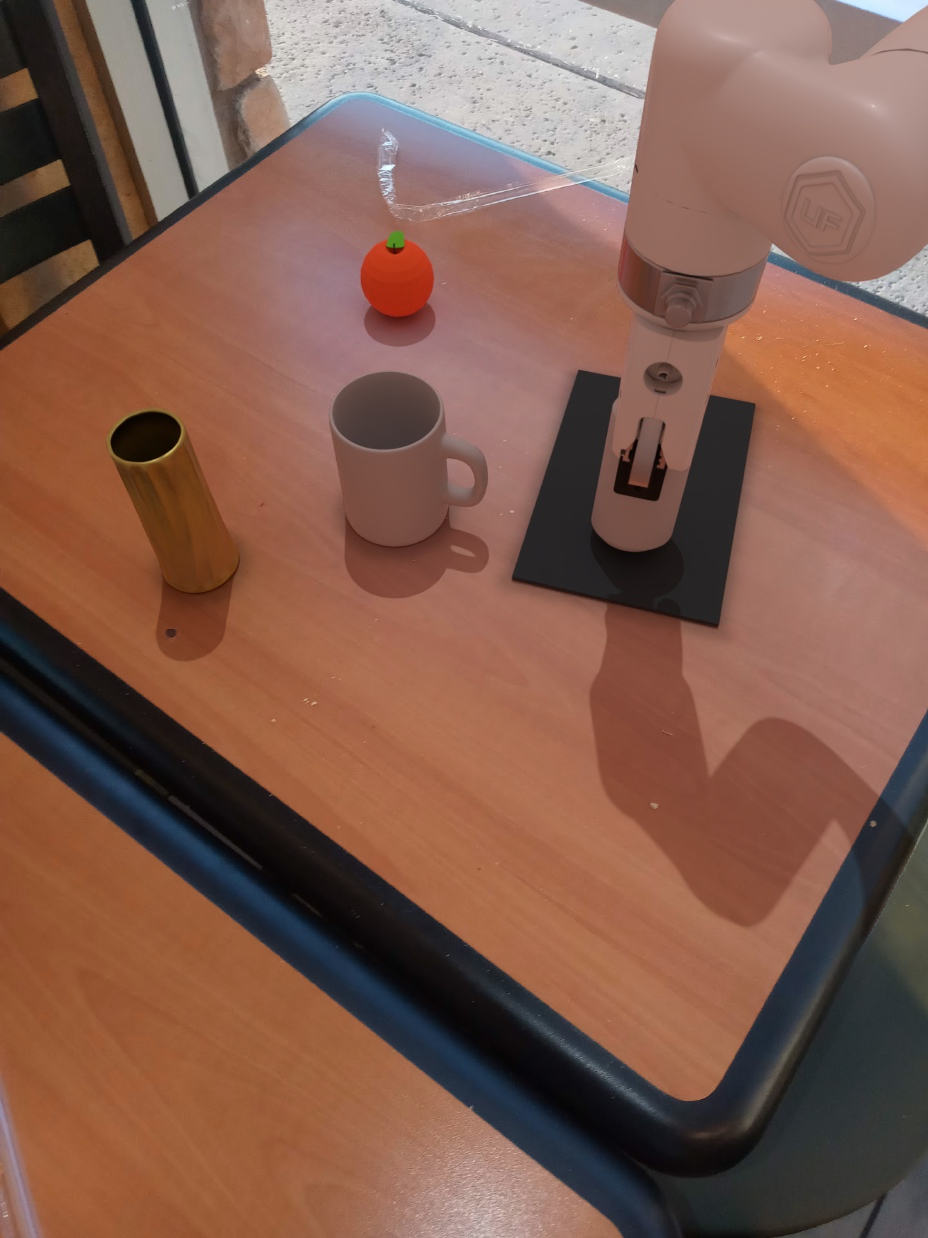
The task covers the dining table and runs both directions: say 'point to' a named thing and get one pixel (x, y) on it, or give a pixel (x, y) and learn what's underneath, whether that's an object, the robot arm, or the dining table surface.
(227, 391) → the dining table surface
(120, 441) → the vase
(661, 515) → the beverage can
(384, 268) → the clementine
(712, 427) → the mat
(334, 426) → the mug
